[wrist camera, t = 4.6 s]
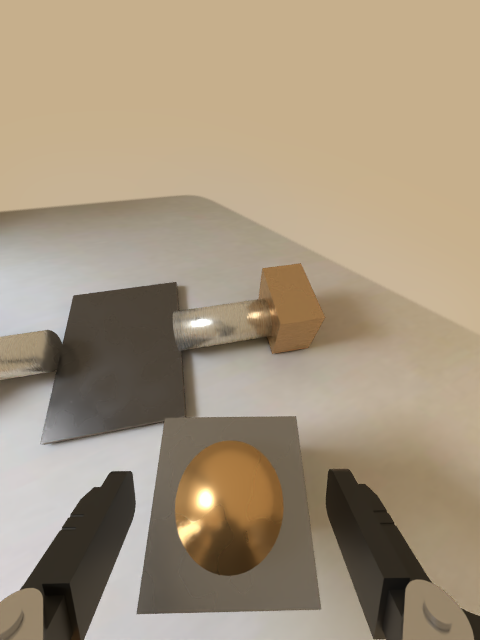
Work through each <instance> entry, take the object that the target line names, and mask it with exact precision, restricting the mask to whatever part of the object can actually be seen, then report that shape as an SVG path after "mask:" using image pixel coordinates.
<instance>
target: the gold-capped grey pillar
mask: <svg viewBox="0 0 480 640" xmlns="http://www.w3.org/2000/svg"><path fill="white" fill-rule="evenodd" d="M281 610H321V605H320V597H319V589H318V582H317V574H316V566H315V558H314V551H313V543H312V535H311V528H310V520H309V512H308V505H307V497H306V489H305V482H304V474H303V466H302V459H301V451H300V443H299V435H298V428H297V420H296V416H288V417H201V418H165V421H164V428H163V435H162V442H161V449H160V456H159V463H158V470H157V477H156V484H155V490H154V497H153V504H152V511H151V518H150V525H149V532H148V539H147V546H146V553H145V560H144V567H143V574H142V580H141V587H140V594H139V601H138V608H137V614H159V613H199V612H240V611H281Z"/></svg>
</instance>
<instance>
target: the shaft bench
mask: <svg viewBox="0 0 480 640" xmlns="http://www.w3.org/2000/svg"><path fill="white" fill-rule="evenodd" d="M324 319H325V316H324V314H323V312H322V309H321V307H320V305H319V303H318V301H317V298H316V296H315V294H314V292H313V289H312V287H311V285H310V283H309V281H308V278H307V276H306V274H305V272H304V270H303V267H302V265H301V263H300V264H292V265H285V266H277V267H269V268H262V275H261V283H260V291H259V299H257V300H250V301H244V302H237V303H230V304H223V305H216V306H209V307H202V308H195V309H188V310H182V311H179V306H178V291H177V283H176V282H173V283H165V284H158V285H150V286H142V287H135V288H127V289H120V290H112V291H105V292H97V293H89V294H82V295H74V296H73V300H72V305H71V309H70V313H69V318H68V322H67V327H66V331H65V336H64V340H63V345H62V342H61V340H60V338H59V337H58V335H57V334H56V333H54V332H53V331H50V330H44V331H37V332H30V333H23V334H16V335H9V336H3V337H0V380H4V379H10V378H16V377H22V376H28V375H34V374H41V373H47V372H53V371H55V370H57V371H56V376H55V380H54V385H53V389H52V394H51V398H50V403H49V407H48V412H47V416H46V420H45V425H44V429H43V434H42V438H41V443H40V444H44V445H45V444H50V443H56V442H61V441H66V440H71V439H76V438H81V437H87V436H92V435H97V434H102V433H107V432H112V431H118V430H123V429H128V428H133V427H138V426H143V425H149V424H154V423H159V422H164V421H165V418H185V417H186V410H185V395H184V380H183V365H182V350H188V349H194V348H200V347H206V346H212V345H218V344H224V343H231V342H237V341H243V340H249V339H255V338H261V337H268V341H269V344H270V348H271V351H272V354H275V353H280V352H286V351H292V350H298V349H304V348H309V346H310V344H311V342H312V340H313V339H314V337H315V335H316V333H317V331H318V330H319V328H320V326H321V324H322V322H323V321H324Z"/></svg>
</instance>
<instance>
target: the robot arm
mask: <svg viewBox="0 0 480 640" xmlns="http://www.w3.org/2000/svg"><path fill="white" fill-rule="evenodd" d="M135 505H136V501H135V492H134V483H133V474H132V472H131V471H112V472H110V473H109V475H108V476H107V478H106V480H105V481H104V483H103V484H102V486H101V487H94V488H93V489H92V490H91V491H89V492H88V493H87V494H86V495H85V496H84V497H83V498H82V499H81V500H80V501H79V503H78V504H77V506H76V507H75V509H74V510H73V512H72V513H71V516H70V518H68V519H67V521H66V522H65V524H64V525H63V527H62V530H61V531H59V533H58V534H57V536H56V537H55V539H54V540H53V542H52V543H51V545H50V546H49V548H48V549H47V551H46V552H45V554H44V555H43V557H42V558H41V560H40V561H39V563H38V564H37V566H36V567H35V569H34V570H33V572H32V573H31V575H30V576H29V578H28V579H27V581H26V582H25V584H24V585H23V586H22V588H21V589H20V590H19V591H17V592H15V593H13V594H11V595H10V596H8V597H7V598H5V599H4V600H3V601H1V602H0V640H84V638H85V636H86V633H87V631H88V628H89V626H90V623H91V621H92V618H93V616H94V614H95V611H96V609H97V606H98V604H99V601H100V599H101V596H102V594H103V591H104V589H105V586H106V584H107V582H108V579H109V577H110V574H111V572H112V569H113V567H114V564H115V562H116V559H117V557H118V555H119V552H120V550H121V547H122V545H123V542H124V540H125V537H126V535H127V532H128V530H129V527H130V525H131V523H132V520H133V517H134V512H135ZM326 508H327V513H328V517H329V520H330V523H331V526H332V528H333V531H334V534H335V536H336V539H337V542H338V544H339V547H340V550H341V553H342V555H343V558H344V561H345V563H346V566H347V569H348V571H349V574H350V577H351V580H352V582H353V585H354V588H355V590H356V593H357V596H358V598H359V601H360V604H361V607H362V609H363V612H364V615H365V617H366V620H367V623H368V625H369V628H370V631H371V634H372V636H373V639H386V640H480V616H478V615H475V614H472V613H470V612H467V611H465V610H464V609H462V608H460V607H459V605H458V604H457V603H456V602H455V601H454V600H453V598H451V597H450V596H449V595H448V594H447V593H446V592H445V591H444V590H442V589H441V588H439V587H438V586H436V585H434V584H433V583H432V582H431V581H430V579H429V578H428V576H427V575H426V573H425V572H424V570H423V568H422V567H421V565H420V564H419V562H418V560H417V559H416V557H415V556H414V554H413V552H412V551H411V549H410V547H409V546H408V544H407V543H406V541H405V539H404V538H403V536H402V535H401V533H400V531H399V530H398V528H397V526H395V525H394V522H393V520H392V518H391V517H390V515H389V514H388V513H387V510H386V509H385V507H384V505H383V504H382V502H381V501H380V499H379V497H378V496H377V495H376V494H375V493H374V492H373V491H372V490H371V489H370V488H369V487H368V486H367V485H365V484H358V483H357V482H356V480H355V478H354V476H353V475H352V473H351V471H350V470H349V469H329V471H328V480H327V491H326Z"/></svg>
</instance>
